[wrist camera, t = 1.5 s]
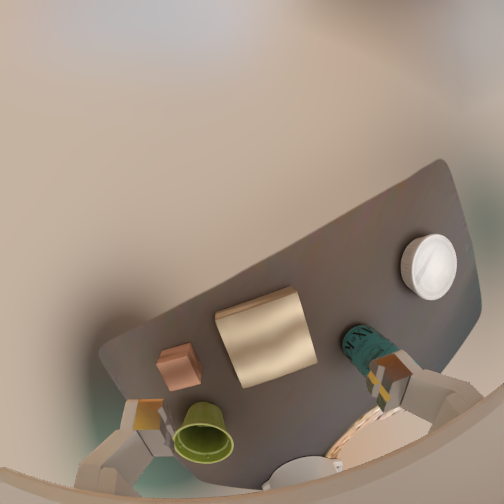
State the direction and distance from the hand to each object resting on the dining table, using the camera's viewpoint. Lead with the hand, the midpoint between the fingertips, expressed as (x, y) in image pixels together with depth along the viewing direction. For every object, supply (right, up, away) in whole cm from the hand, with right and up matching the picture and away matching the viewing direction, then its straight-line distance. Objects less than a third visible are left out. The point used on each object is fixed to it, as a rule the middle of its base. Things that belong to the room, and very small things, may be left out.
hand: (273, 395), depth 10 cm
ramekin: (+29, +3, +36) cm, 46 cm away
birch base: (+1, -7, +34) cm, 35 cm away
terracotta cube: (-12, -12, +33) cm, 37 cm away
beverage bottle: (+17, -9, +36) cm, 41 cm away
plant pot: (-9, -23, +35) cm, 43 cm away
